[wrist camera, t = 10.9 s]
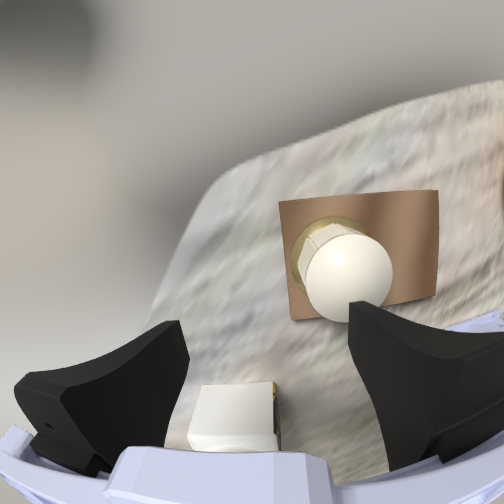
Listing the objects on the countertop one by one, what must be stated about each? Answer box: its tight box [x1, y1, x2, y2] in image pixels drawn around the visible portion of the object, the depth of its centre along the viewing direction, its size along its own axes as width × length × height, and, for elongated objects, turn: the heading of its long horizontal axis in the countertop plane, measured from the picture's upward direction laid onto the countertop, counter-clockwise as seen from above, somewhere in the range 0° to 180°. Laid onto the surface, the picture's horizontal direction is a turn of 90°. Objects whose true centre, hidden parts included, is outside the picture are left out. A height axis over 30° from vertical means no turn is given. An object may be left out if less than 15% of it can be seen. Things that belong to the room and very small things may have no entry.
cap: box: [297, 223, 393, 322], centre depth 17 cm, size 5×5×4 cm
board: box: [279, 190, 439, 320], centre depth 20 cm, size 13×9×1 cm
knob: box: [290, 216, 371, 295], centre depth 18 cm, size 6×6×3 cm
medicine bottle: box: [187, 381, 281, 452], centre depth 19 cm, size 7×7×12 cm
